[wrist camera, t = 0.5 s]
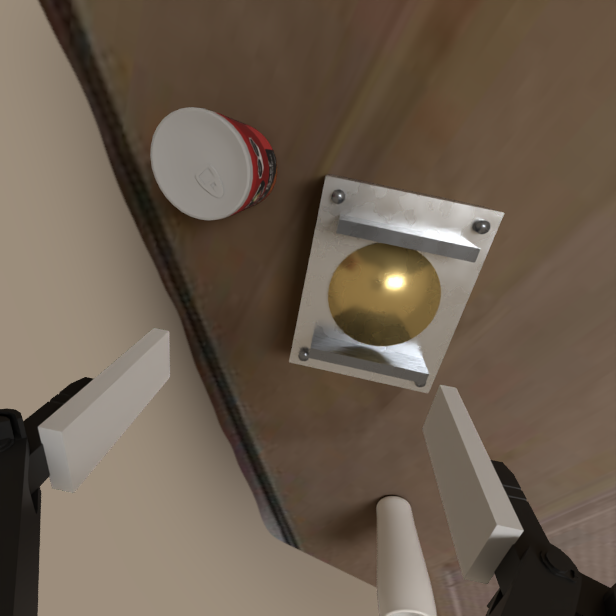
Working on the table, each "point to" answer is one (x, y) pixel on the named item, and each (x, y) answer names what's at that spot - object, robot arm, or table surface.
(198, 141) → the canned food
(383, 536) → the drinking glass
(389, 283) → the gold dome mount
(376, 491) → the table surface
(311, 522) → the table surface
